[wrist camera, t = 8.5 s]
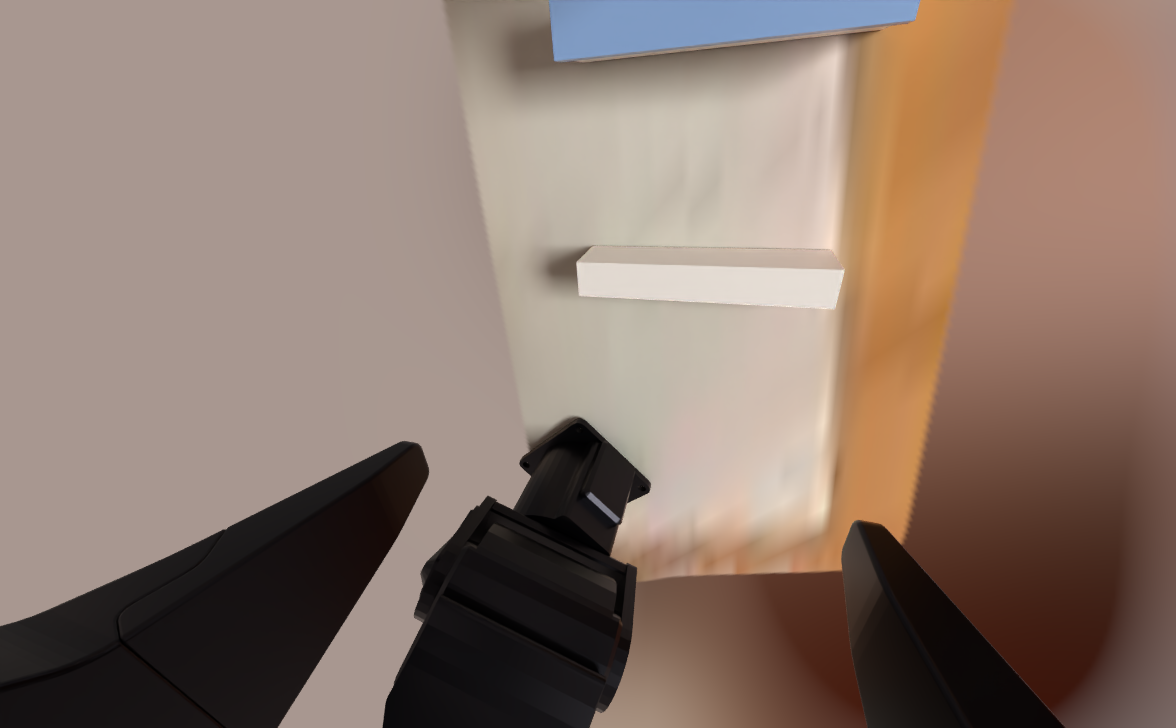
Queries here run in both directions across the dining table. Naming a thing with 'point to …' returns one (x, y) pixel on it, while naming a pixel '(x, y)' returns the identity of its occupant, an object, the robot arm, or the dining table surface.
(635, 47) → the rail comb
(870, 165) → the dining table surface
